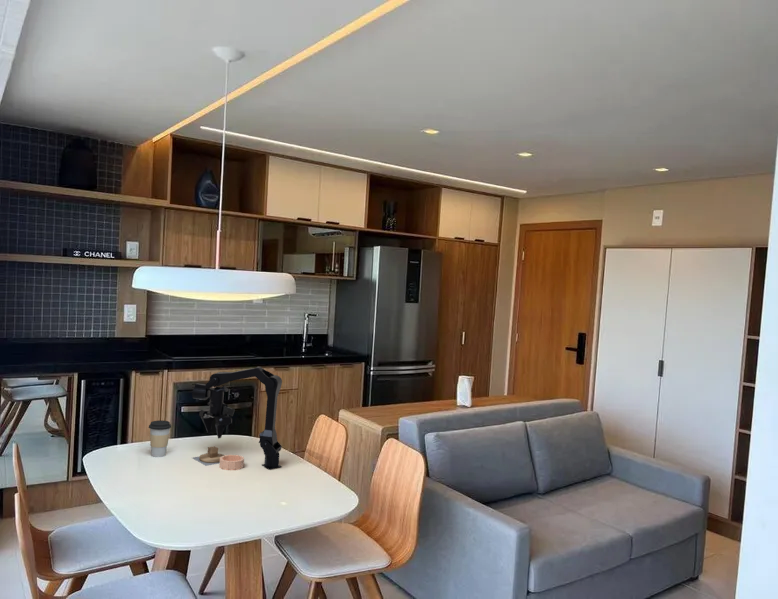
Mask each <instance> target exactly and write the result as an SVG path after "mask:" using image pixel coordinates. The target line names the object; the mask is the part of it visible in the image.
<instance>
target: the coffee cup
mask: <svg viewBox="0 0 778 599" xmlns="http://www.w3.org/2000/svg"><path fill="white" fill-rule="evenodd" d="M148 428H149V430H150V431H149V432H150V433H149V441H150V442H149V443H150V444H149V445H150V455H151V456H150V457H152V458H163V457H165V456H166V453H167V449H168V448H167V446H168V444H169V439H170V431H171V428H172V424H171V423H170V421H168V420H160V419H159V420H154V421H151V422H150V423H149V425H148Z"/></svg>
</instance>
